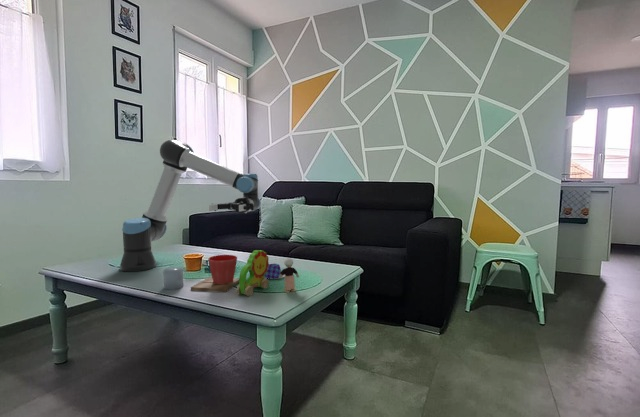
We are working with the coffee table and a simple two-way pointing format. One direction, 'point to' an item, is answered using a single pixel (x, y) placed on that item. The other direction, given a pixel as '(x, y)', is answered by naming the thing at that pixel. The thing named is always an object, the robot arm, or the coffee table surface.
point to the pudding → (273, 271)
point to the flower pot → (222, 268)
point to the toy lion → (253, 273)
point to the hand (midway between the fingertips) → (224, 208)
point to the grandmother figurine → (289, 275)
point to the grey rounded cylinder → (173, 278)
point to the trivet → (214, 285)
